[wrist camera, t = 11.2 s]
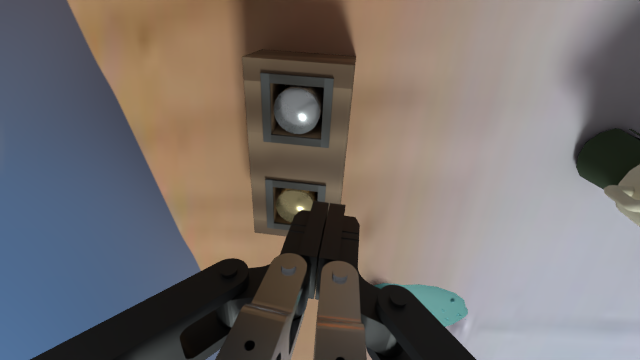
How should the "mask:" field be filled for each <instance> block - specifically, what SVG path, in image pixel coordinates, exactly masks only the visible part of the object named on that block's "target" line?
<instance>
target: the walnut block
mask: <svg viewBox="0 0 640 360" xmlns="http://www.w3.org/2000/svg"><path fill="white" fill-rule="evenodd" d="M355 62H356V56H344V55H330V54H316V53H302V52H289V51H275V50H259V51H257V52H254V53H251V54H249V55H246V56H243V57H242V63H243V76H244V90H245V104H246V118H247V132H248V146H249V160H250V174H251V188H252V202H253V215H254V229H255V233H263V234H271V235H279V236H287V234H288V231H289V228H290V226H291V222H288V221H286V220H285V219H283V218H282V217H281V216H280V215H279V213H278V211H277V209H276V202H277V199H278V197H279V195H280V193H281V190H282V188H287V189H296V190H305V191H314V192H318V198H317V201H320V202H327V203H329V206H330V203H335V204H341V196H342V186H343V177H344V167H345V158H346V148H347V139H348V129H349V119H350V110H351V100H352V91H353V81H354V72H355ZM285 84H287V85H299V86H312V87H324V98H323V115H322V119H319V120H318V122H317V124H316V126H315V127H314V128H313V129H312V130H310V131H309V132H306V133H303V134H293V133H290V132H288V131H286V130H284V129H283V128H282V127H281V126H280V125H279V124H278V122H277V120H276V118H275V115H274V104H275V101H276V99H277V97H278V96H279V95H280V94H281V93H282V92H283V91H284V90H285ZM328 211H329V209H328Z"/></svg>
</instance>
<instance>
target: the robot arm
mask: <svg viewBox="0 0 640 360" xmlns="http://www.w3.org/2000/svg"><path fill="white" fill-rule="evenodd" d="M328 209H329V211H328ZM344 212H345V205H342V204H335V203H330V206H329V203H327V202H320V201H313V204H312V207H311V211H307V210H300V211H299V212H298V213H297V214H296V215H294V217H293V220H292V223H291V226H290V228H289V231H288V234H287V237H286V239H285V242H284V245H283V248H282V251H281V253H280V255H279V256H277V257H276V258H274V259H273V261H272V262H271V264H269V265H267V266H263V267H256V268H248V266H247V264H246V263H245V262H244V261H242V260H239V259H234V258H231V259H225V260H222V261H220V262H218V263H216V264H214V265H212V266H210V267H208V268H206V269H204V270H202V271H200V272H199V273H197V274H195V275H193V276H191V277H189V278H187V279H185V280H183V281H181V282H179V283H177V284H175V285H173V286H171V287H170V288H168V289H166V290H164V291H162V292H160V293H158V294H156V295H154V296H152V297H150V298H148V299H146V300H145V301H143V302H141V303H139V304H137V305H135V306H133V307H131V308H129V309H127V310H125V311H123V312H121V313H119V314H117V315H115V316H114V317H112V318H110V319H108V320H106V321H104V322H102V323H100V324H98V325H96V326H94V327H92V328H90V329H88V330H87V331H84V332H83V333H81V334H79V335H77V336H75V337H73V338H71V339H69V340H67V341H65V342H63V343H61V344H59V345H57V346H56V347H54V348H52V349H50V350H48V351H46V352H44V353H42V354H40V355H38V356H36V357H34V358H32V359H30V360H205V359H207V358H208V357H210V356H211V355H212V354H214V353H215V352H217V351H218V350H219V349H220V351H219V353H218V355H217V357H216V359H215V360H291V357H292V354H293V350H294V347H295V344H296V340H297V337H298V334H299V330H300V327H301V324H302V320H303V317H304V311H305V309H306V305H307V301H308V298H311V299H314V294H315V289H316V296H315V299H317V300H319V302H318V312H317V322H316V334H315V346H314V357H313V360H367V357H366V348H367V351H368V354H369V355H370V357H371V358H372V360H476V359H475V358H474V357H473V356H472V355H471V354H470V353H469V352H468V351H467V349H466V348H465V347H464V346H463V345H462V344H461V343H460V342H459V341H458V340H457V339H456V338H455V337H454V336H453V335H452V334H451V333H450V332H449V331H448V330H447V329H446V328H445V327H444V326H443V325H442V324H441V322H440V321H439V320H438V319H437V318H436V317H435V316H434V315H433V314H432V313H431V312H430V311H429V310H428V309H427V308H426V307H425V306H424V305H423V304H422V303H421V302H420V301H419V300H418V299H417V298H416V297H415V296H414V294H413V293H411V292H410V291H409V290H408V289H406V288H404V287H402V286H399V285H387V286H384V287H383V288H381V289H380V288H378V287H376V286H373V285H371V284H369V283H368V282H366V281H365V280H364V279H363V278H362V277H361V275H360V274H359V271H358V247H359V227H360V225H359V223H358V221H357V219H356V218H355V217H350V216H344ZM316 284H317V285H316Z"/></svg>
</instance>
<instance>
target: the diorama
mask: <svg viewBox="0 0 640 360" xmlns="http://www.w3.org/2000/svg"><path fill="white" fill-rule="evenodd" d="M387 285H399V284H388V283H382V284H378V285H373V286H376V287H378V288H380V289H381V288H383V287H384V286H387ZM399 286H402V287H404V288H406V289H408V290H409V291H410V292H411V293H413V294H414V296H415V297H416V298H417V299H418V300H419V301H420V302H421V303H422V304H423V305H424V306H425V307H426V308H427V309H428V310H429V311H430V312H431V313H432V314H433V315H434V316H435V317H436V318H437V319H438V320H439V321H440V322H441V324H442V325H443V326H444V327H446V326H449V325H452V324H454V323H456V322H457V321H459V320H460V319H462V318H464V317H465V316H466V315H467V314H468V310H467V308H466V307H465V302H464V300H463V299H462V298H461V297H459V296H458V295H457V294H455V293H453V292H450V291H447V290H444V289H442V288H439V287H434V286H426V285H419V284H418V285H399Z"/></svg>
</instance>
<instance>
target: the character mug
mask: <svg viewBox="0 0 640 360" xmlns="http://www.w3.org/2000/svg"><path fill="white" fill-rule="evenodd" d="M629 130H631V131H632V132H634V133H636V134H637V135H639V136H640V134H639V133H637V132H636V131H634V130H632V129H629ZM576 168H577V170H578V173H579V175H580V176H581V177H583V178H584V179H586V180H588V181H590V182H591V183H593V184H595V185H597V186H598V187H600V188H602V189H604V193H605V194H606V195H607V196H608V197H609V198H611V199H612V200H613V201H615V203H616V207H617V208H618V209H619V211H620V212H622V213H623V214H624V215H625V216H626V217H628V218H629V219H630V220H632V221H633V222H634V223H635V224H637V225H638V226H639V227H640V139H639V138H637V137H634V136H631V135H629V134H627V133H626V132H624V131H622V130H620V129H616V128H615V129H612V130H608V131H605V132H602V133H599V134H598V135H597V136H595V137H594V138H592V139H591V140H589V141H588V142H587V143H586V144H585V145H584V147H583V149H582V151H581V152H580V154H579V156H578V161H577V166H576Z"/></svg>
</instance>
